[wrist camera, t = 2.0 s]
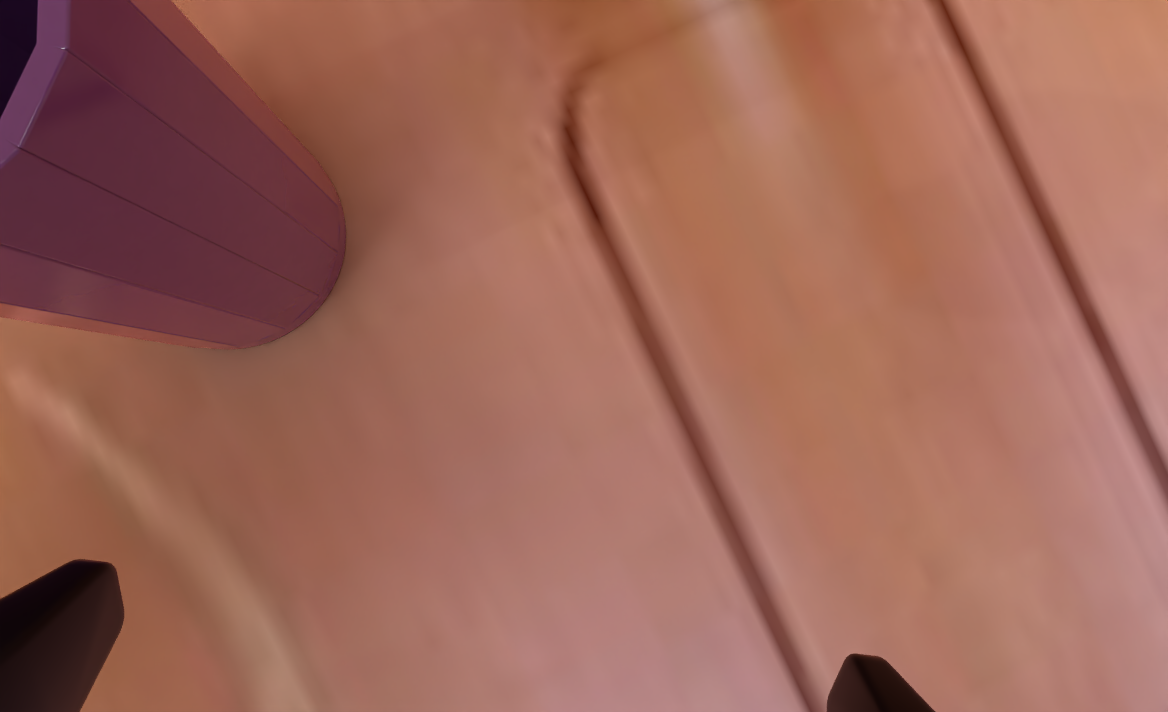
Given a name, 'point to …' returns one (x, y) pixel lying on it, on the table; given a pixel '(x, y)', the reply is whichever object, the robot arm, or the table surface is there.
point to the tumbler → (151, 183)
